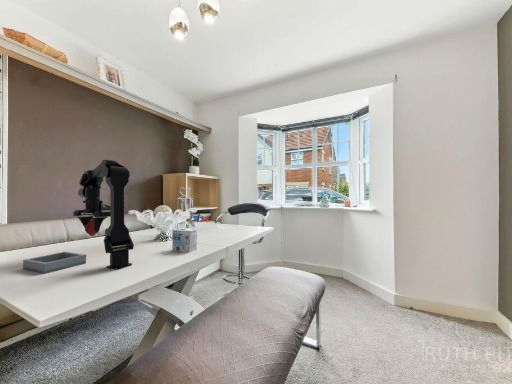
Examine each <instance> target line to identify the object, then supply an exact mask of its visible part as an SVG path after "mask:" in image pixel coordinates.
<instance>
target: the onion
mask: <svg viewBox="0 0 512 384" xmlns="http://www.w3.org/2000/svg"><path fill="white" fill-rule="evenodd" d="M100 230H101V228H100V229H99V231H98V232H95V229H94V226H93V222H92V219H91V221H90V222H89V223H87V224H86V226H85V228H84V231H85V233H86V234H88V235H89V236H90V237H93V236H95V235H97V234H98V233H99V232H100Z"/></svg>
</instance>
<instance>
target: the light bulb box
mask: <svg viewBox="0 0 512 384" xmlns="http://www.w3.org/2000/svg"><path fill="white" fill-rule="evenodd" d="M171 249H172V252H174V251H175V252H185V253H191V252H193V250H194V251H196V250H197V249H198V228H186V227H185V228H183V227H178V228H176V229H175V228H174V229H172V247H171Z"/></svg>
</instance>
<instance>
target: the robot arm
mask: <svg viewBox="0 0 512 384" xmlns="http://www.w3.org/2000/svg"><path fill="white" fill-rule="evenodd" d="M130 175H131V174H130V170H129V169H128V168H127V167H126V166H125V165H123V164H120V163H119V162H118V161H117V160H114V159H113V160H111V159H102V160H101V163H99V164H98V165H97V166H96V167H95V168H94V169H89V170H86V171H84V172H83V173H82V175H81V177H80V179H79V186H80V188H78V191H77V194H78V196H79V197H80V198H82V199H84V200H82V203H83V204H84V209H75V210H74V211H73V212H72V213H73V217H77V219H78V220H79V221H80V223H81V224H82V226H83V228H84V229H85V226H86V224H87V223H89V222H90V221H91V219H92V222H93V226H94V229H95V232H98V231H99V232H100V230H101V226H102V223H103V221H104V220H106V219H107V218H108V217H110V220H109V222H110V225H109V226H108V228H106V229H104V238H103V243H104V250H105V253H106V254H110V255H109V265H107V266H106V267H105V268H109V269H112V270H113V269H114V270H120V269H122V268H126V267H129V266H133V263H131V262H130V258H129V257H130V255H129V254H130V251H132V250H134V246H135V244H134V242H133V239H132V237H131V236H130V230H129V228H128V227H127V225H126V224H125V188H126V186H127V185H128V183H129V180H130ZM104 177H105V179H104ZM104 181H105V184H107V186H108V187H109V190H110V191H109V193H110V199H109V201H110V203H109V204H110V205H108V204H106V203H104V202H103V200H102V199H101V189H102V187H101V185H102V183H103V182H104ZM99 229H100V230H99ZM99 232H98V233H99Z"/></svg>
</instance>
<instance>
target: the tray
mask: <svg viewBox="0 0 512 384" xmlns="http://www.w3.org/2000/svg"><path fill="white" fill-rule="evenodd" d="M86 263H87V254H83V253H77V252H70V251H61V252H56V253H50V254H47V255H41V256H36V257H32V258H27V259H23V260H22V270H25V271H30V272H34V273H39V274H44V275H45V274H49V273H54V272H57V271H61V270H64V269H69V268H72V267H76V266H80V265H84V264H86Z"/></svg>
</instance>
